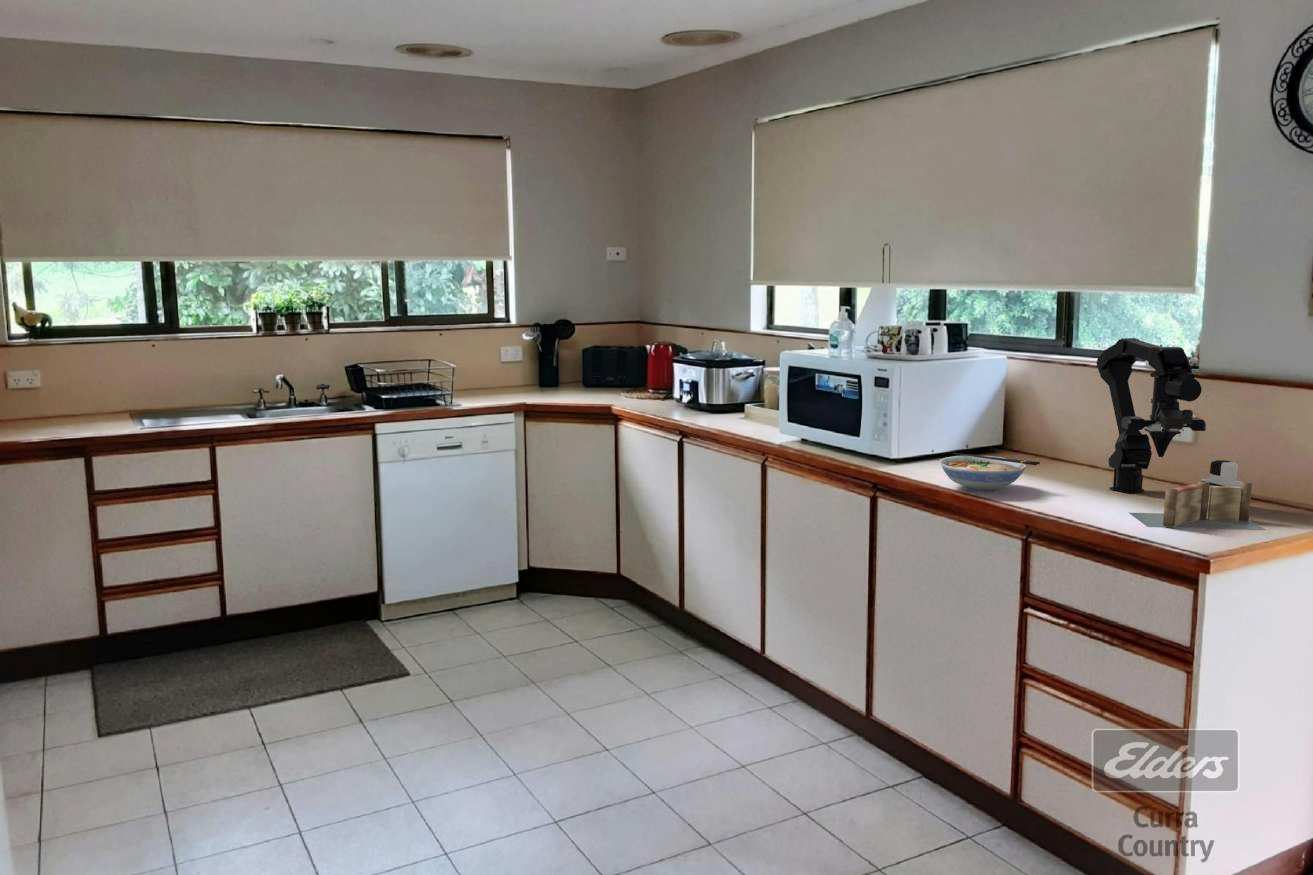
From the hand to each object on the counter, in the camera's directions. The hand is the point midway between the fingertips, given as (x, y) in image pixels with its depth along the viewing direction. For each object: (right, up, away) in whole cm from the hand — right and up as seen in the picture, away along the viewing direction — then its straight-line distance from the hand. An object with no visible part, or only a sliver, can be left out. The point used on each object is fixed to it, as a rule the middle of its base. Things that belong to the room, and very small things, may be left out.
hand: (1160, 456), depth 263 cm
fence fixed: (+6, -15, -17) cm, 24 cm away
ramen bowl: (-40, -9, +19) cm, 45 cm away
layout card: (-1, -15, -19) cm, 24 cm away
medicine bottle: (+13, -13, -4) cm, 19 cm away
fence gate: (-6, -15, -21) cm, 27 cm away
